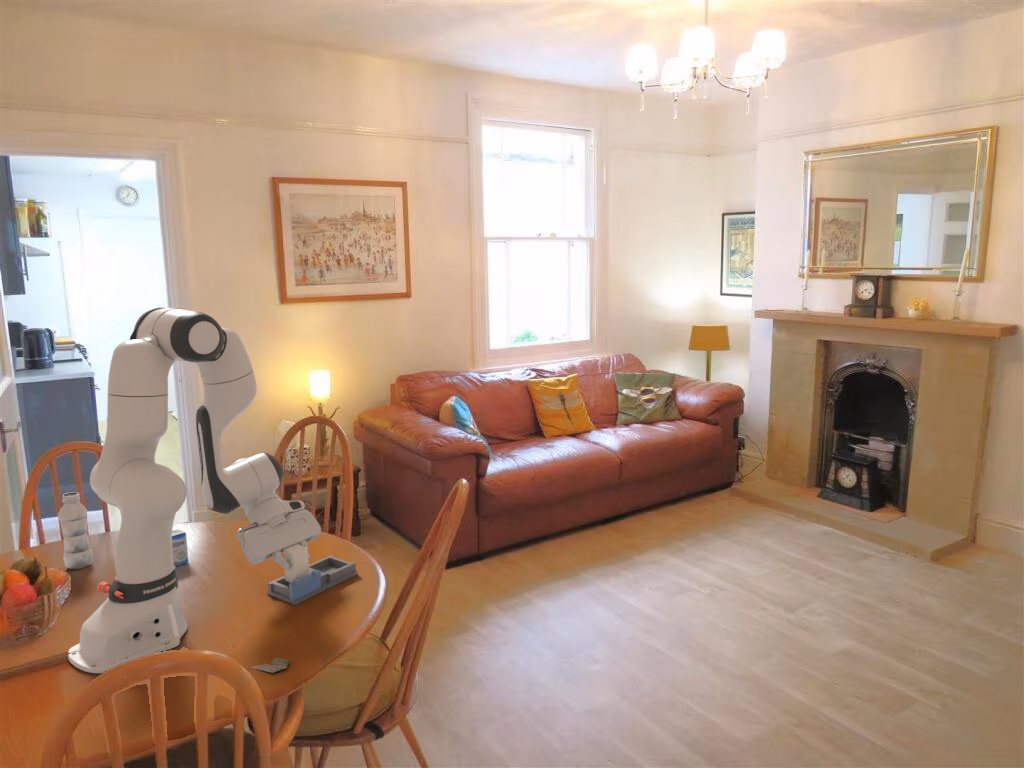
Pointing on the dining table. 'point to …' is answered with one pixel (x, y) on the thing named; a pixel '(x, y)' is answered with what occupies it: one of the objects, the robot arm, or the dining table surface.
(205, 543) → the dining table surface
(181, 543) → the medicine box
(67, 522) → the plastic bottle
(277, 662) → the map
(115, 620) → the robot arm
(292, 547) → the white rectangular block
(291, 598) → the two-compartment grey tray
